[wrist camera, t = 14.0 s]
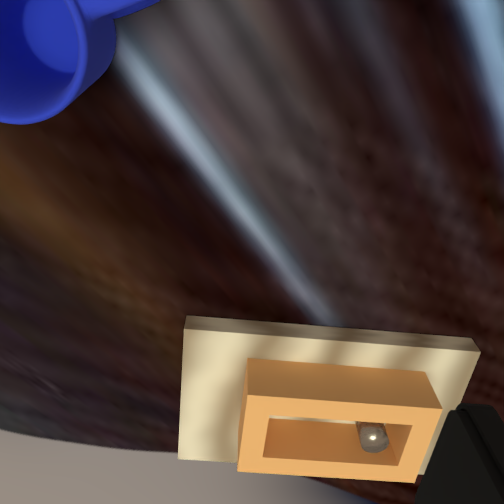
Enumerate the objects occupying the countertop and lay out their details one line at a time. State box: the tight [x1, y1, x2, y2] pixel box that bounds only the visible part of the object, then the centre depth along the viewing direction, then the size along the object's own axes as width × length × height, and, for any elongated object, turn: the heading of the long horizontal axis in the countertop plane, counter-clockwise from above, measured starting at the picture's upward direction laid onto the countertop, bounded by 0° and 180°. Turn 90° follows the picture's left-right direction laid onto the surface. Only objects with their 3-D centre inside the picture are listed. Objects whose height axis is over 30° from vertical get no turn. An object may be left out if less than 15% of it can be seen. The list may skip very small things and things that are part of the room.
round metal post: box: [355, 421, 389, 453], centre depth 43 cm, size 2×2×4 cm
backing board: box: [178, 315, 481, 474], centre depth 46 cm, size 26×16×2 cm, turn 84°
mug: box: [0, 0, 160, 124], centre depth 27 cm, size 8×12×10 cm
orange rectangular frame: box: [237, 358, 443, 483], centre depth 43 cm, size 16×9×4 cm, turn 84°
